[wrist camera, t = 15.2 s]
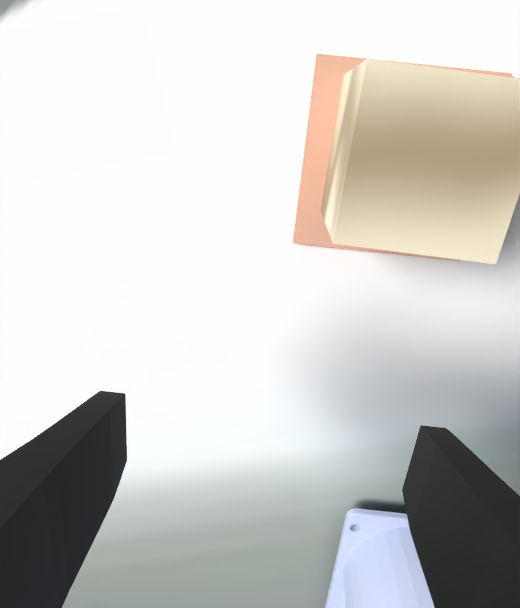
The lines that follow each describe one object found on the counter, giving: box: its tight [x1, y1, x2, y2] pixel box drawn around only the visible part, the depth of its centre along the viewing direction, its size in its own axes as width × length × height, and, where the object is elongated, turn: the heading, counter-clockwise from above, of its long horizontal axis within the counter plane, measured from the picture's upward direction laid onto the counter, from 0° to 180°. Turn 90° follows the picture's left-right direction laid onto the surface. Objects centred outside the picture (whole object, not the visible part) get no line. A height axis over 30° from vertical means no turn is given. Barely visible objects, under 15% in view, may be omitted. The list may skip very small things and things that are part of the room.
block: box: [321, 59, 520, 265], centre depth 15 cm, size 5×5×5 cm
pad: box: [293, 54, 512, 261], centre depth 18 cm, size 7×7×1 cm
